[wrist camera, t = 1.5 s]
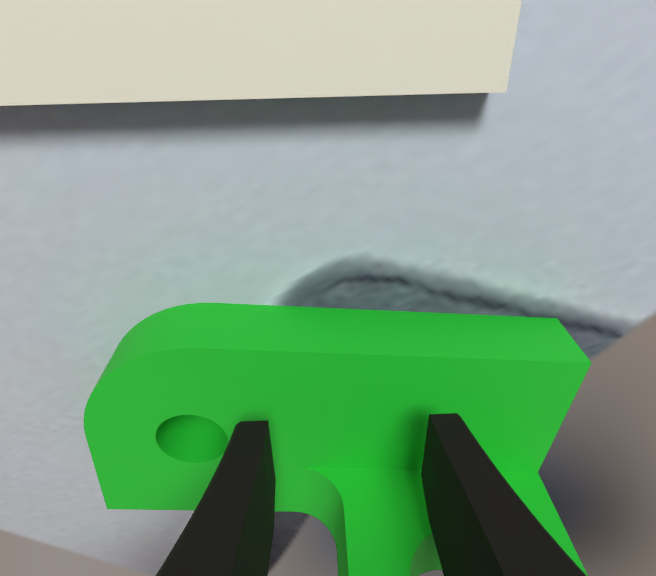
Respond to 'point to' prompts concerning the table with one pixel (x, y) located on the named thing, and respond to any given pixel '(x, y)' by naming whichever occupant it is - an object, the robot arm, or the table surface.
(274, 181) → the table surface
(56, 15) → the plate
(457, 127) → the table surface
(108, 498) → the mechanical part
